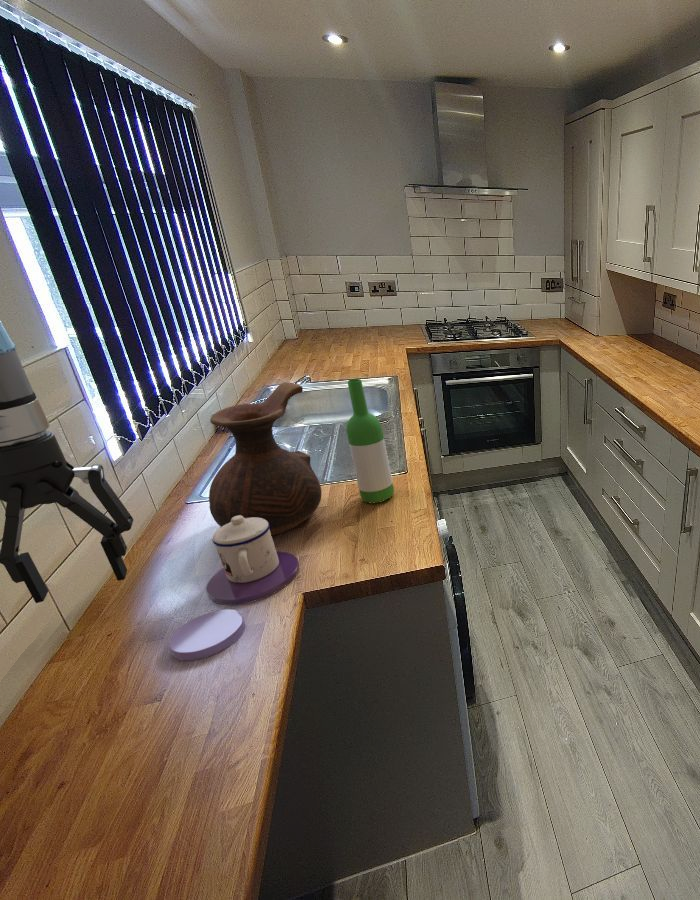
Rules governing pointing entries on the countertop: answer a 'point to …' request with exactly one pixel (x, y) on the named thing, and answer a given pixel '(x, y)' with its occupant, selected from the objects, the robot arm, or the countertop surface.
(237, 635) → the lilac dish
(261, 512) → the jug
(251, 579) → the teacup with lid
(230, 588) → the saucer
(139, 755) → the countertop surface
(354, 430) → the wine bottle
